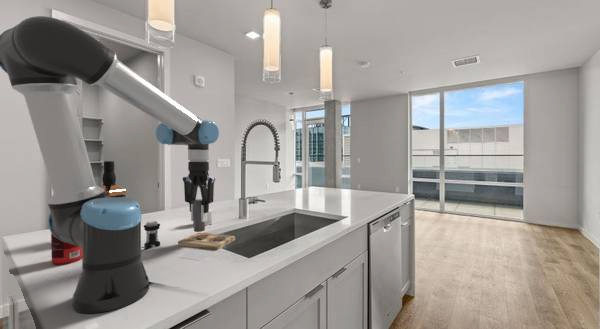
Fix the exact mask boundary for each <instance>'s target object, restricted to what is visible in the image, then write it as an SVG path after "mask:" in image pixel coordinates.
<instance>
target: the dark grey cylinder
mask: <svg viewBox="0 0 600 329" xmlns="http://www.w3.org/2000/svg"><path fill="white" fill-rule="evenodd" d="M202 204H203V201H202V198H199V199H198V198H196V200H194V224H193V231H194V232H195V233H196V232H197V233H202V232H204V231H206V227H205V226H206V225H205V221H204V222H201V205H202Z"/></svg>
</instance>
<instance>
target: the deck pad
mask: <svg viewBox="0 0 600 329" xmlns="http://www.w3.org/2000/svg"><path fill="white" fill-rule="evenodd" d="M213 253H214V251H211V250H210V251H209V250H202V249H193V250H190V251H189V252H186V253H184V254H182V255H180V256H179V257H178V258H180V259H186V260H193V261H194V260H195V261H201V260H203V259H204V258H205V257H206V258H207V257H208V256H210V255H211V254H213Z"/></svg>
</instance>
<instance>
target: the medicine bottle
mask: <svg viewBox="0 0 600 329" xmlns="http://www.w3.org/2000/svg"><path fill="white" fill-rule="evenodd" d="M212 219H213V211H212V209H209V212H208V213H207V221H205V226H210V224H211V225H212V224H213V220H212ZM192 223H193V225H194V221H192Z"/></svg>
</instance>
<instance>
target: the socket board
mask: <svg viewBox="0 0 600 329" xmlns="http://www.w3.org/2000/svg"><path fill="white" fill-rule="evenodd" d="M235 240H236V236H234V235H227V234H216V233H209V232H197V233H195V234H193V235H190V236H188V237H185V238H183V239H179V240H178V241H177V245H178V246H182V247H183V246H184V247H191V248H199V249H206V250H213V251H214V250H215V251H218V250H220V249H222V248H224V247H225V246H227V245H229V244H231V243H232V242H235Z"/></svg>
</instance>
